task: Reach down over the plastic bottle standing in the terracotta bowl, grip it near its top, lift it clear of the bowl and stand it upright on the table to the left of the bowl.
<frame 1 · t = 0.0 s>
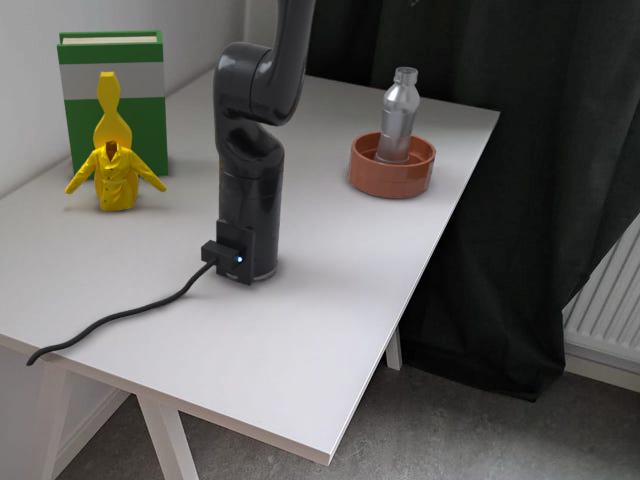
hand: (387, 1, 123), 29 cm above the table, tool pointing down, fingers open, 8 cm apart
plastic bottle: (388, 179, 136), resting on bowl
yellow jacket: (118, 203, 129), on the table
bowl: (388, 180, 136), on the table
hardback book: (121, 169, 139), on the table
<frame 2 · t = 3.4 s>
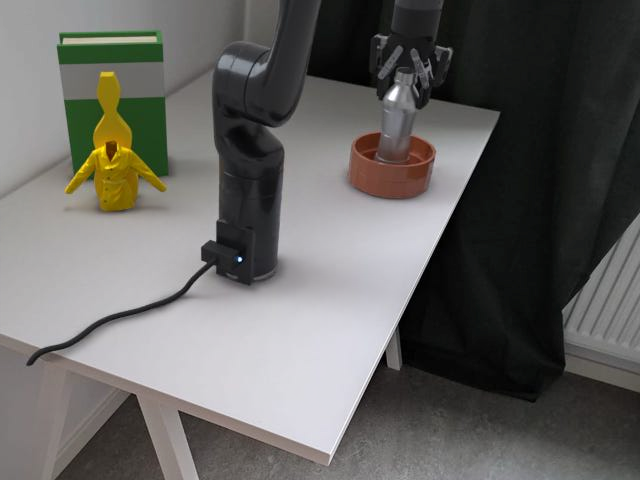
hand: (401, 103, 127), 15 cm above the table, tool pointing down, fingers closed on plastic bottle, 6 cm apart
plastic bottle: (388, 179, 136), resting on bowl, touching gripper
everything else where it was.
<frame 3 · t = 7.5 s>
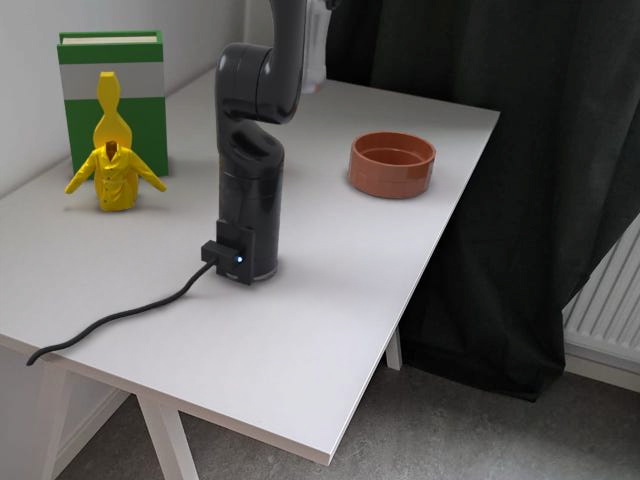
hand: (313, 5, 120), 29 cm above the table, tool pointing down, fingers closed on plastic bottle, 6 cm apart
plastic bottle: (305, 92, 129), point 15 cm above the table, touching gripper
everything else where it was.
when the fingers open (14 cm above the table, at t = 11.5 s): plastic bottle stays where it is, on the table.
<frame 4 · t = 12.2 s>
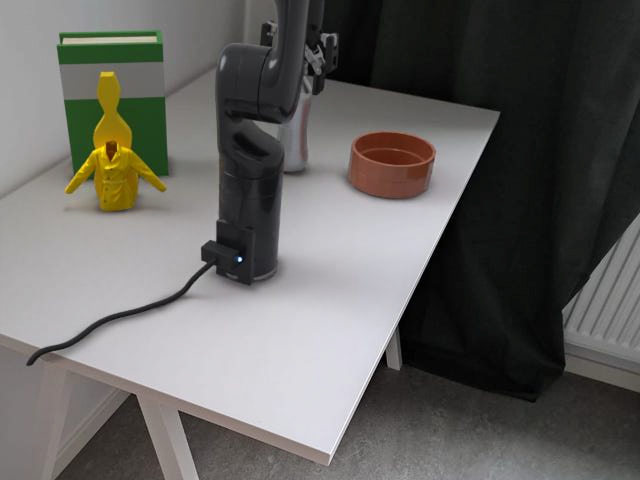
hand: (295, 89, 129), 15 cm above the table, tool pointing down, fingers open, 8 cm apart
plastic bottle: (289, 169, 140), on the table
everything else where it was.
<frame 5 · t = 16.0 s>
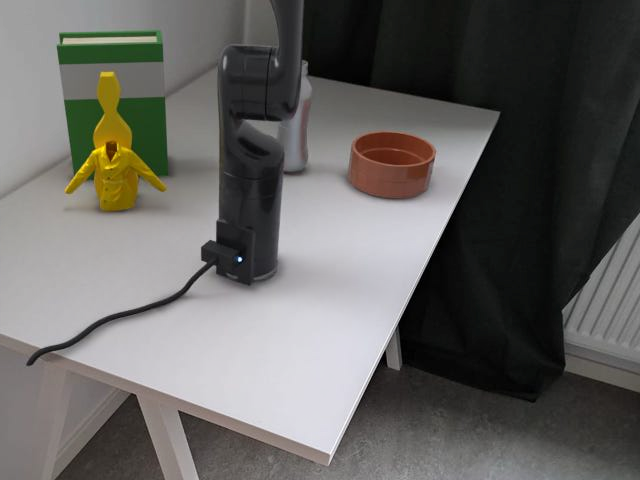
nothing on the table moved.
at the end: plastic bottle inside the target area (0.1 cm from its centre), on the table; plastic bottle touching table; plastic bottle tilted 0° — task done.
